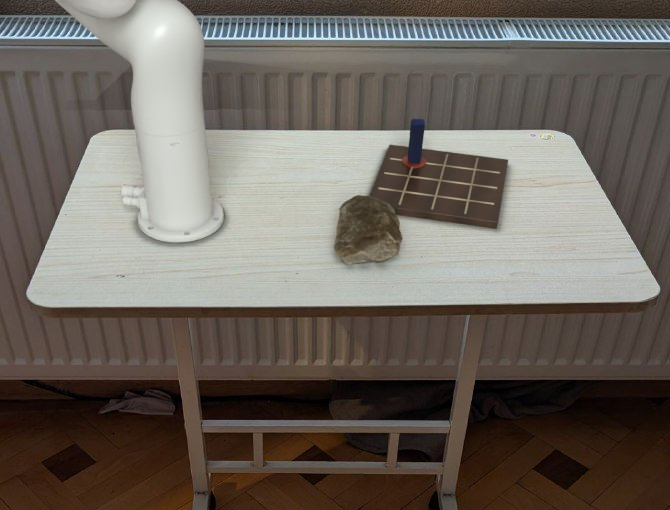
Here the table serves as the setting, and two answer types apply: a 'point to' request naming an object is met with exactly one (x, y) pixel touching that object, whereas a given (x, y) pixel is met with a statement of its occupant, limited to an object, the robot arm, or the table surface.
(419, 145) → the eraser
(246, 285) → the table surface
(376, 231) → the stone
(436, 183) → the board
